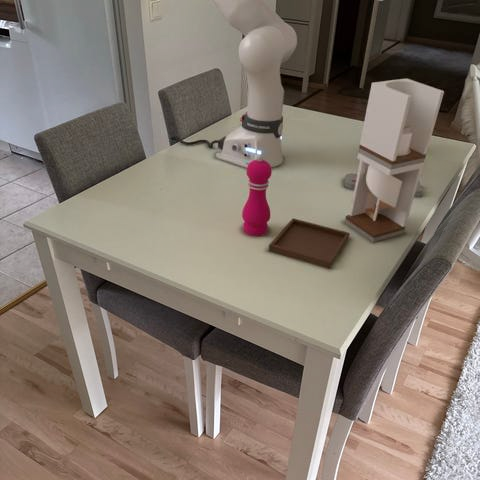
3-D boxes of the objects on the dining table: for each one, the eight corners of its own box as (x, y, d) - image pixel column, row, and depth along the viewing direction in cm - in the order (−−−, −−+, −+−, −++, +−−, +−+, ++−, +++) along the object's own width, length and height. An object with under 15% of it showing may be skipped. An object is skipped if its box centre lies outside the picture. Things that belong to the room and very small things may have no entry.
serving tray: (268, 251, 119) (269, 244, 118) (292, 224, 130) (292, 218, 129) (329, 268, 114) (330, 262, 113) (348, 239, 125) (349, 232, 124)
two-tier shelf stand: (344, 222, 132) (371, 82, 109) (374, 214, 136) (406, 78, 113) (372, 242, 124) (408, 96, 102) (403, 233, 128) (444, 91, 106)
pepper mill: (273, 227, 128) (280, 152, 115) (262, 239, 123) (268, 162, 110) (248, 220, 130) (252, 146, 118) (236, 232, 125) (239, 156, 112)
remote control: (420, 197, 146) (422, 190, 144) (344, 188, 148) (345, 181, 147) (417, 186, 152) (419, 179, 150) (344, 177, 154) (346, 171, 153)
